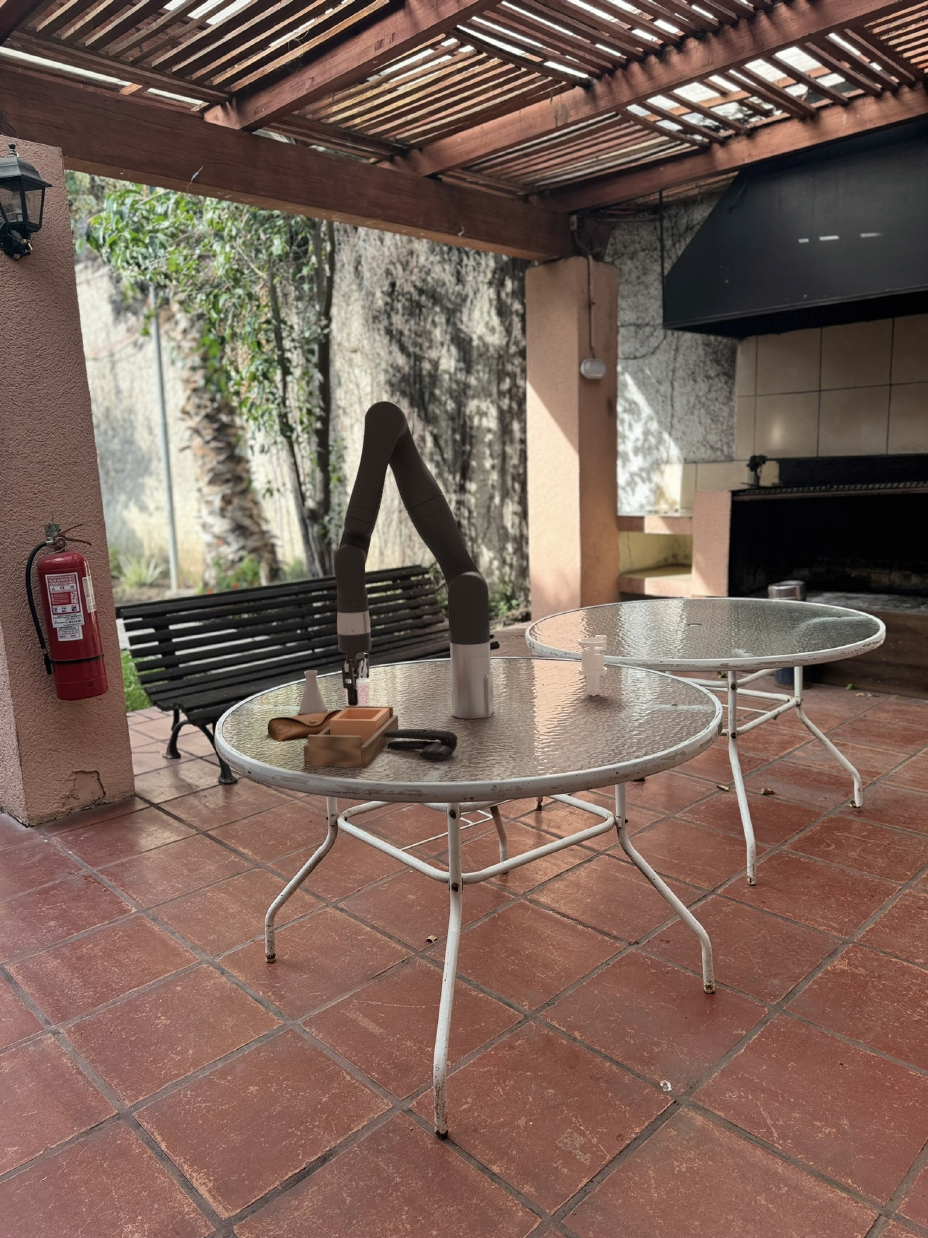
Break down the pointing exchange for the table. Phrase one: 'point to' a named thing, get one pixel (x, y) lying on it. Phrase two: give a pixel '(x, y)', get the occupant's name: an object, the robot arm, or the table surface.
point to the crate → (359, 722)
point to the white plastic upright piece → (593, 660)
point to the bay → (348, 745)
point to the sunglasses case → (299, 725)
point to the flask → (312, 696)
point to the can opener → (425, 742)
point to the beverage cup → (362, 692)
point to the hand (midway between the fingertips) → (357, 701)
